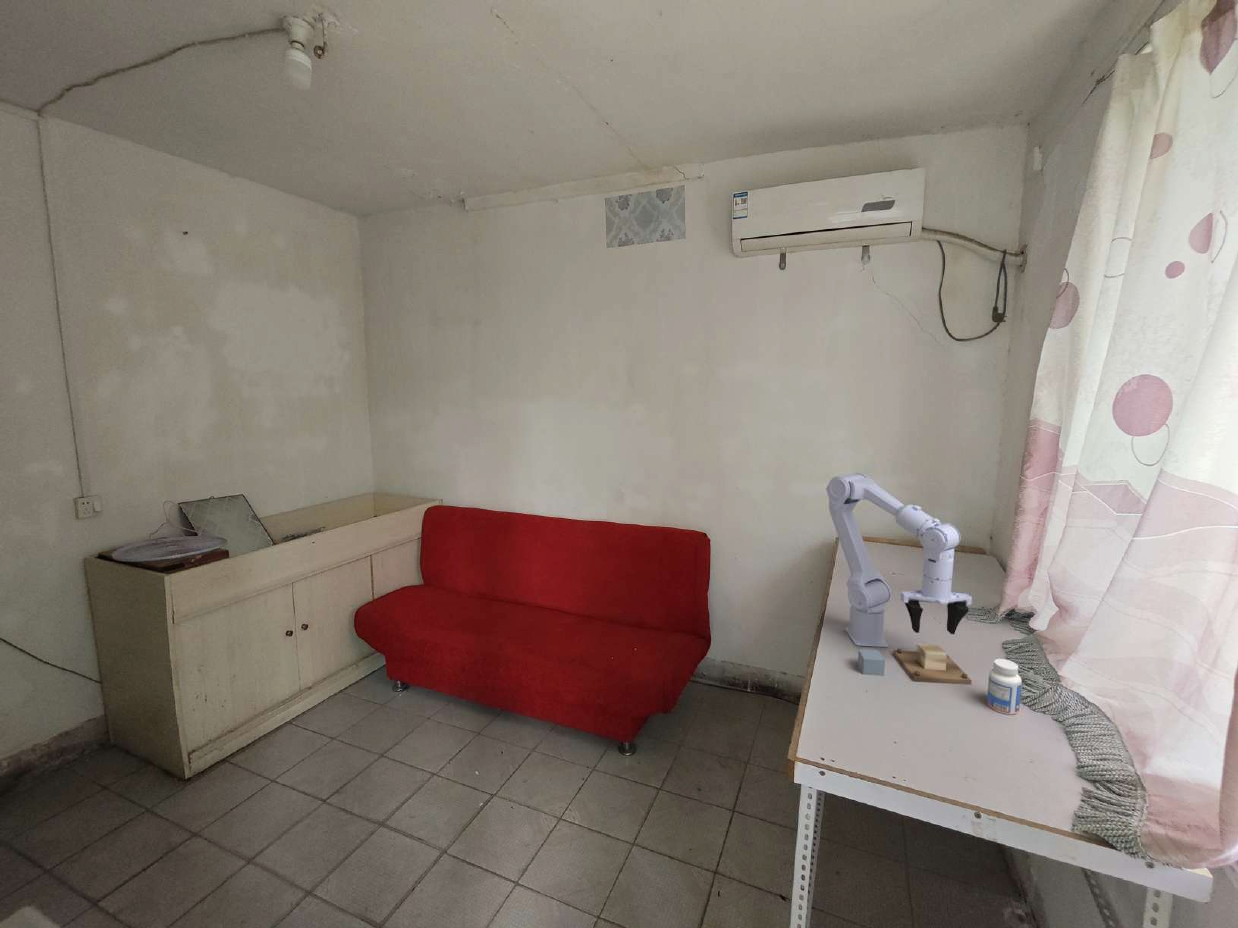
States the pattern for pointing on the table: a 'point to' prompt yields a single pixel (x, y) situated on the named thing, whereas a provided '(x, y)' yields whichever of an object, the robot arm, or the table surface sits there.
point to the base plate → (926, 675)
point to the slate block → (871, 662)
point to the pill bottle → (1004, 687)
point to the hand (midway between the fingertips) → (932, 631)
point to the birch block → (931, 656)
